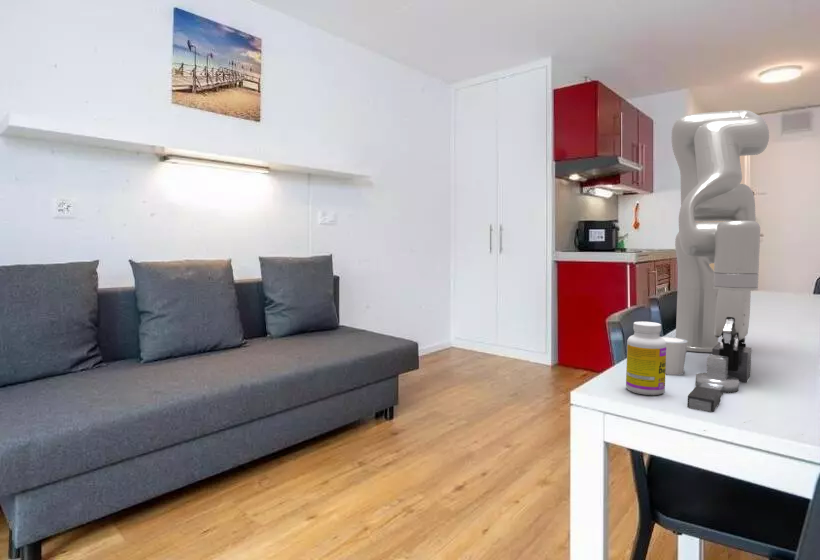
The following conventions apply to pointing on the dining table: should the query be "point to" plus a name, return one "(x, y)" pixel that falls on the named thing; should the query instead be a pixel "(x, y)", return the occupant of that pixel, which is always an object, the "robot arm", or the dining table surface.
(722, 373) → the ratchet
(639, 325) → the supplement bottle
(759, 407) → the dining table surface
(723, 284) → the robot arm
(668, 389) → the dining table surface
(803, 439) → the dining table surface
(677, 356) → the white cup
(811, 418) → the dining table surface
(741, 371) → the grey cube
